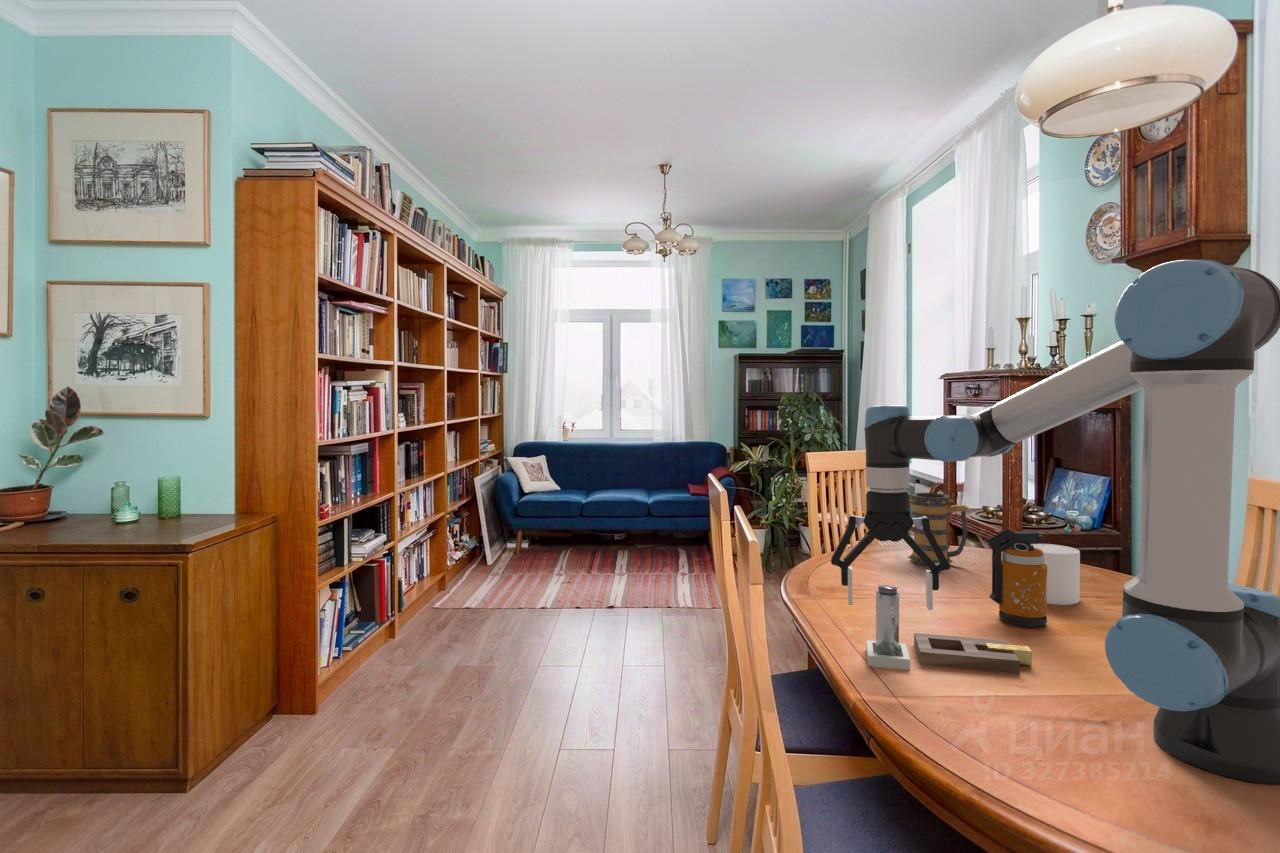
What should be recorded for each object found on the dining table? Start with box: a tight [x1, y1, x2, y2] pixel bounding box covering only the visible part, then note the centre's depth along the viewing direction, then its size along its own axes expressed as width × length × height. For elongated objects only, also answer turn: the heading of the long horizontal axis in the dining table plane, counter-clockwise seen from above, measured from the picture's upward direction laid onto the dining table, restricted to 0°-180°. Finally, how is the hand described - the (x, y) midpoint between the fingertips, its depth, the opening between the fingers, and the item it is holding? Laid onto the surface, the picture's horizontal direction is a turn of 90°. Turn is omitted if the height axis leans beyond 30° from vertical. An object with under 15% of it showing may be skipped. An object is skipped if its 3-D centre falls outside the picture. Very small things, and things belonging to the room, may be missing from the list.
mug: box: [907, 492, 972, 567], centre depth 194 cm, size 13×17×20 cm
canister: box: [988, 528, 1048, 628], centre depth 143 cm, size 9×11×20 cm
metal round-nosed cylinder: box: [875, 584, 900, 657], centre depth 122 cm, size 4×4×13 cm
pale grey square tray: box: [866, 639, 911, 671], centre depth 122 cm, size 8×7×2 cm
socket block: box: [913, 632, 1021, 675], centre depth 122 cm, size 10×16×3 cm, turn 73°
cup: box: [1031, 543, 1081, 606], centre depth 160 cm, size 12×12×12 cm
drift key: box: [985, 643, 1033, 666], centre depth 120 cm, size 2×7×2 cm, turn 74°
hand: (889, 605), depth 121 cm, fingers open, 13 cm apart
